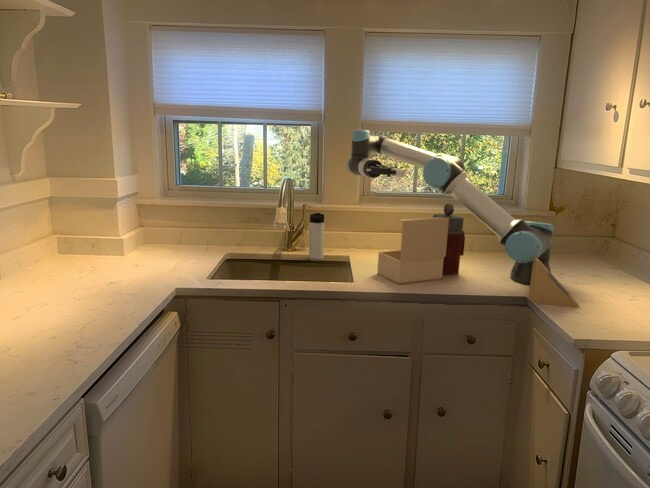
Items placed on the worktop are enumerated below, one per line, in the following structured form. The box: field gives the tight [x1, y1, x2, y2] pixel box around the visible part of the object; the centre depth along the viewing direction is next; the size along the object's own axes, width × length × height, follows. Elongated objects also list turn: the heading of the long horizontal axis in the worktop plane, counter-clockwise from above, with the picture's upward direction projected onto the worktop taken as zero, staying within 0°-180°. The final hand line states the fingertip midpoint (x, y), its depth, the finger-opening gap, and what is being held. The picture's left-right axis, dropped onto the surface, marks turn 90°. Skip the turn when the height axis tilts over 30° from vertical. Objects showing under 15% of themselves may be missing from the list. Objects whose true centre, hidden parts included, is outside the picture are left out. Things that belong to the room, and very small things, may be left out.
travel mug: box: [308, 212, 325, 262], centre depth 213 cm, size 6×7×20 cm
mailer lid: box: [397, 217, 449, 261], centre depth 185 cm, size 15×20×4 cm
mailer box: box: [376, 249, 444, 286], centre depth 193 cm, size 15×20×9 cm
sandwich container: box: [528, 256, 581, 308], centre depth 169 cm, size 9×15×15 cm, turn 76°
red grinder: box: [432, 203, 466, 276], centre depth 199 cm, size 9×11×28 cm
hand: (402, 173), depth 187 cm, fingers closed
